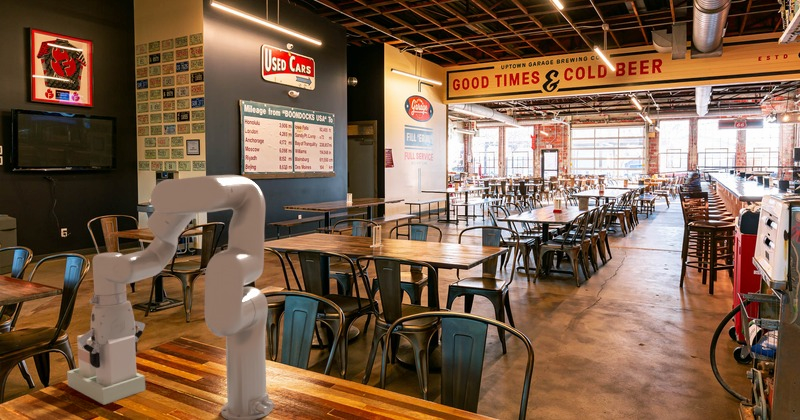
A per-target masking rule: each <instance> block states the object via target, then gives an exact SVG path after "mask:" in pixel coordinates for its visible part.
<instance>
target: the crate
mask: <svg viewBox="0 0 800 420" xmlns="http://www.w3.org/2000/svg"><path fill="white" fill-rule="evenodd" d="M66 372H67V373H66V374H67V375H66V376H67V379H66V380H67V386H68V387H69V388H72V389H73V390H76V391H77V392H79V393H81V394H83V395H84V396H87V397H89V398H90V399H92V400H94V401H96V402H98V403H99V404H102V405H103V406H104V405H107V404H111V403H114V402H116V401H119V400H122V399H125V398H128V397H131V396H134V395H136V394H139V393H141V392H142V393H143V392H145V391H146V376H145V375H143V374H141V373H139V372H137V371H136V374H137V377H136V378H133V379H130V380H127V381H124V382H121V383H117V384H114V385H111V386H108V387H104V386H102V385H99V384H97V379H96V376H94V377H91V378H88V379H87V378H85V377H83V376H81V375H79V367H78V368H73V369H71V370H67V371H66Z"/></svg>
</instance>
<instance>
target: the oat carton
mask: <svg viewBox="0 0 800 420" xmlns="http://www.w3.org/2000/svg"><path fill="white" fill-rule="evenodd" d="M83 335H84V334H81V335H76V337H77V338H76V340H77V343H76V344H77V359H78V368H79V375H81V376H83V377H85V378H87V379H88V378H91V377H94V376H96V367H93V366H92V365H91V363H90V352H88V351H87V350H85V349H83V348H82V346H81V345H80V344H79V342H78V339H79V338H80V337H81V336H83ZM86 342H87V344H88V345H91V343H92V340H91V337H90V338H89V339H88V340H87V341H86Z"/></svg>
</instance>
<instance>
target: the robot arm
mask: <svg viewBox="0 0 800 420" xmlns="http://www.w3.org/2000/svg"><path fill="white" fill-rule="evenodd" d="M150 202H151V206H152V207H153V209H154V211H152V214H151V215H149V217H148V219H147V222H146V223H147V224H146V225H147V228H148V229H149V232H151V233H152V235H154V238H153V240H152V241H151V242H150V243H149V244H148V245H147V247H146V248H145V249H144V250H139V251H136V252H131V253H128V254H127V253H126V254H123V253H120V252H103V253H98V254H96V255H93V258H92V273H93V275H92V276H93V290H94V291H93V292H94V294H93V297H91V298H89V300H88V301H89V304H90V305H91V304H94V305H93V306H92V309H91V316H90V330H88V331H87V332H85V333H84V334H82V335H83V336H81V337H80V338H79V339H78V342H79V344H80V345H81V346H82V348H83V349H85V350H87V351H88V352H90V363H91V365H92V366H93V367H96V368H99V367H100V356H99V353H98V352H97V351H98V349H99V348H100V346H101V345H106V344H107V343H109V342H108V341H107V340H111V339H117V338H122V337H127V336H132V335H134V336H135V352H136V353H137V352H138V342H139V340H140V338H141V337H142V335H143V331H144V329H145V327H146V323H144V322H141V321H136V320H135V315H134V310H133V306H132V304H131V301H130V300H127V299H128V298H127V285H128V284H132V283H136V282H139V281H142V280H145V279H149V278H152V277H155V276H157V275H158V274H160V273H161V272H162V271H163V270H164V269H165V268H166V267H167V265H168V264H169V263H170V262H171V260H172V259H173V257H174V256H175V254H176V252H177V249H178V244H179V237H180V236H181V234H182V233H183V231H185V229H186V227H187V226H188V225H190V222H191V221H192V220H193V219H194V218H195V216H196V214H200V213H201V214H202V213H214V212H219V211H226V210H232V211H233V214H232V216H231V219H230V222H229V225H228V241H227V242H228V243H227V249H225V250H220V251H218V252H217V253H216V254H214V255H213V256H212V257H211V258H210V259H209V261H208V263H207V266H206V268H205V269H206V270H205V272H204V274H205V275H204V320H205V323H206V326H207V328H208V330H209V331H210V332H211V333H212V334H213V335H214V336H217V337H219V338H226V340H225V359H226V360H225V362H226V365H225V366H226V391H227V394H226V395H227V399H226V400H227V402H226V403H224V404H223V405H222V407H221V411H220V413H221V416H222V418H223V419H225V420H258V419H261V418H263V417H265V416H268V415H270V413H271V412H272V410H273V409H274V408H275V404H274V402H273V400H272V399H270V398H269V397H270V396H269V395H270V394H269V393H267V373H266V372H267V371H266V370H267V369H266V368H267V365H266V364H267V363H266V359H267V358H266V330H267V329H266V326H267V318H268V313H269V312H268V311H269V309H268V308H269V306H268V299H267V298H266V296H265V294H264V293H263V292H262V290H260V289H259V288H257V287H254V286H247V285H249V284H251V283H253V282H255V281H256V280H258V279H259V278H260V277H262V274H263V271H264V266H265V265H264V263H265V260H264V259H265V223H266V222H265V221H266V199H265V196H264V193H263V191H262V190H261V188H260V186H259V185H258V184H257V183H255V182H254V181H253V180H252V179H250V178H249V177H246V176H243V175H237V174H222V175H220V174H215V175H203V176H194V177H185V178H171V179H164V180H161V181H160V182H158V183H156V185H155V186H154V187H153V189H152V192H151V194H150ZM136 327H137V328H136ZM90 337H91V340H92V343H91V345H88V344H87V342H86V341H87V340H88V339H89V338H90Z"/></svg>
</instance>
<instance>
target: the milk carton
mask: <svg viewBox="0 0 800 420" xmlns="http://www.w3.org/2000/svg"><path fill="white" fill-rule="evenodd" d="M107 341H108V342H109V343H107V344H106V345H101V346H100V348H99V349H98V351H97V352H98V353H99V356H100V367H99V368H96V379H97V384H99V385H102V386H104V387H108V386H111V385H114V384H117V383H121V382H124V381H127V380H130V379H133V378H136V377H137V374H136V372H137V359H136V358H137V352H135V336H134V335H132V336H127V337H122V338H117V339H111V340H107Z"/></svg>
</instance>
